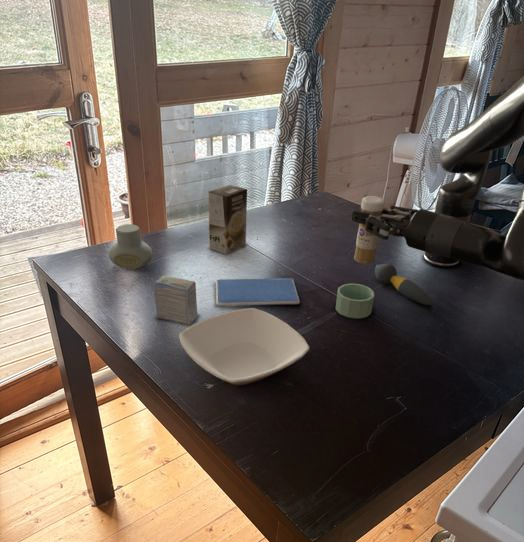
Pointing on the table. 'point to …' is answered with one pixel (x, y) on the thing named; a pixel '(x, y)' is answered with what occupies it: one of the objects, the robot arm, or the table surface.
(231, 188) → the coffee box
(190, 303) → the medicine box
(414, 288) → the paintbrush
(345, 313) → the bracelet
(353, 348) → the table surface
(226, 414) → the table surface
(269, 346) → the bowl
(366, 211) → the sprinkles bottle
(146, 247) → the air freshener
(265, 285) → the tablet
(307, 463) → the table surface
